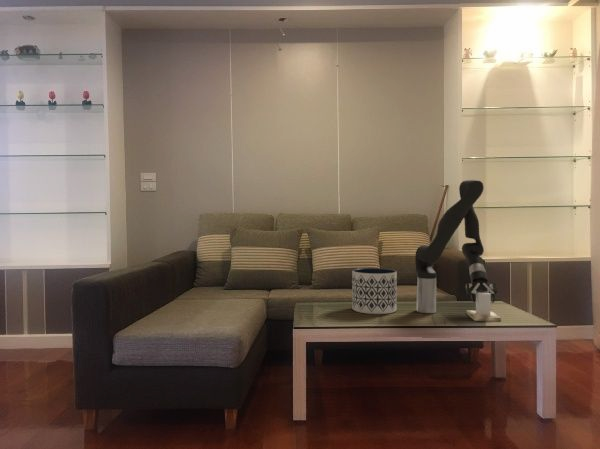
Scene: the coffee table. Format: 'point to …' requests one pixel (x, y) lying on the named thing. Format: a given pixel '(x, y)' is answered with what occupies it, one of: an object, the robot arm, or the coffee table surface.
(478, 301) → the block
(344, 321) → the coffee table surface
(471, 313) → the stub plate
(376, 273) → the planter
